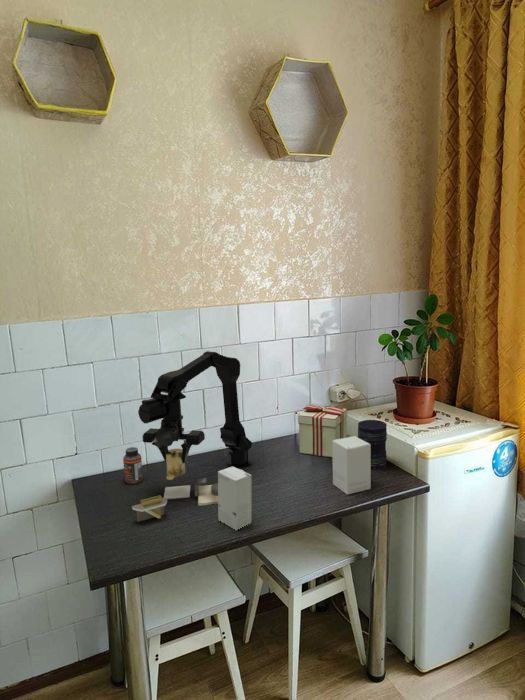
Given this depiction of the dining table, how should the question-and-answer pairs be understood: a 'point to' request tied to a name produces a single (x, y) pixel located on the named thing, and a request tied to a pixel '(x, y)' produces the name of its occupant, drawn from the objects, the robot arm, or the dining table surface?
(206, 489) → the cream slotted block
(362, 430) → the storage jar
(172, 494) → the grey mat
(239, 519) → the skincare box
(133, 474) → the supplement bottle
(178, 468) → the brass bell
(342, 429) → the gift box
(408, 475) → the dining table surface
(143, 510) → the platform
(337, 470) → the supplement box
